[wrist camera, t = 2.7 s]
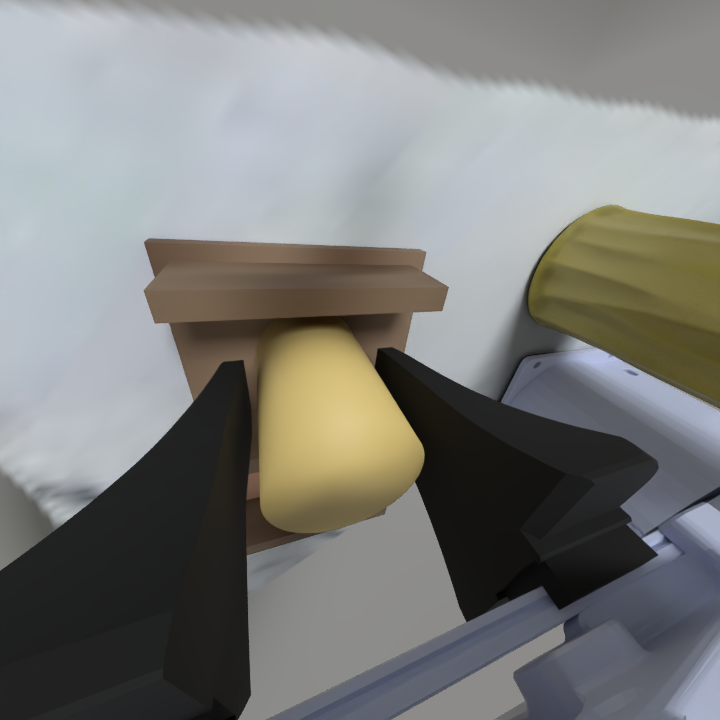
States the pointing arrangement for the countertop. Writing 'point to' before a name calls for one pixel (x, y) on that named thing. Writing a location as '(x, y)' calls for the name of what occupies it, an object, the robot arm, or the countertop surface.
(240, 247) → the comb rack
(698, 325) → the vase
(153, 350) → the countertop surface
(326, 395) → the peg
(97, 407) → the countertop surface
